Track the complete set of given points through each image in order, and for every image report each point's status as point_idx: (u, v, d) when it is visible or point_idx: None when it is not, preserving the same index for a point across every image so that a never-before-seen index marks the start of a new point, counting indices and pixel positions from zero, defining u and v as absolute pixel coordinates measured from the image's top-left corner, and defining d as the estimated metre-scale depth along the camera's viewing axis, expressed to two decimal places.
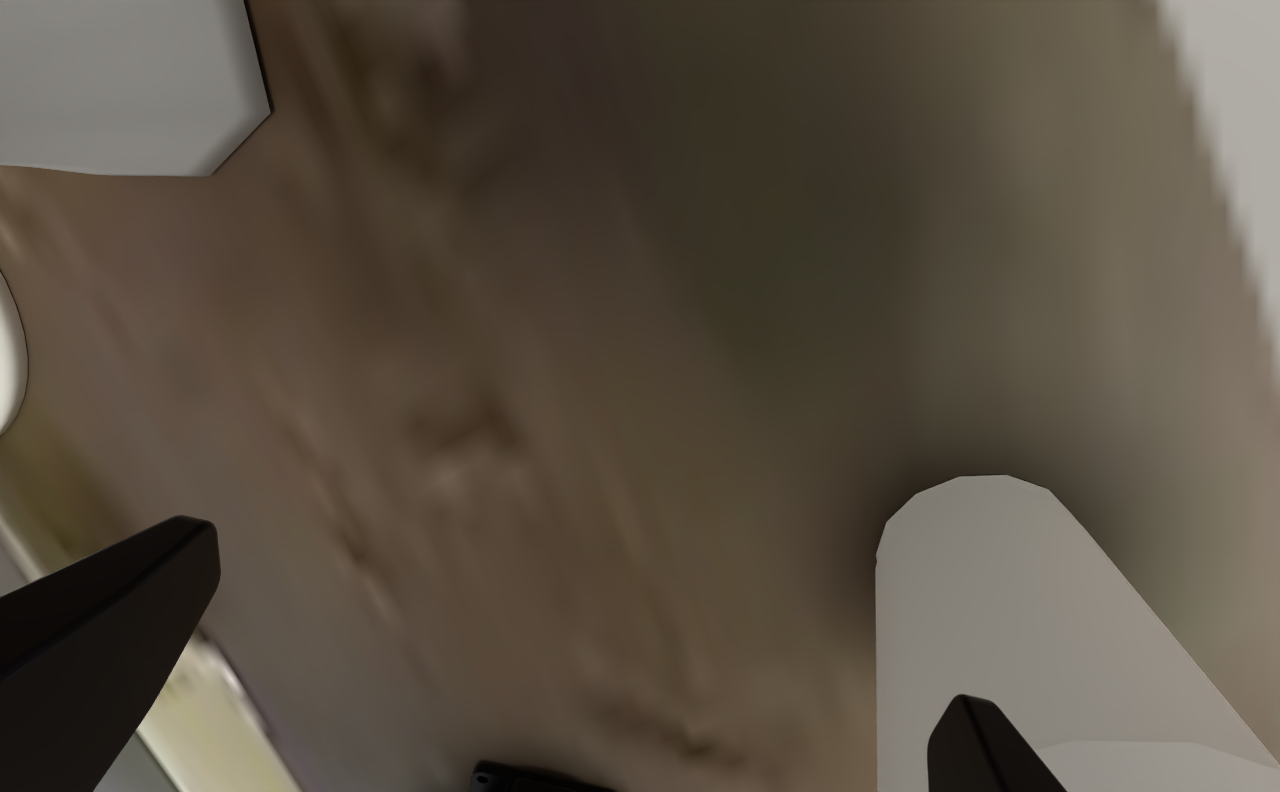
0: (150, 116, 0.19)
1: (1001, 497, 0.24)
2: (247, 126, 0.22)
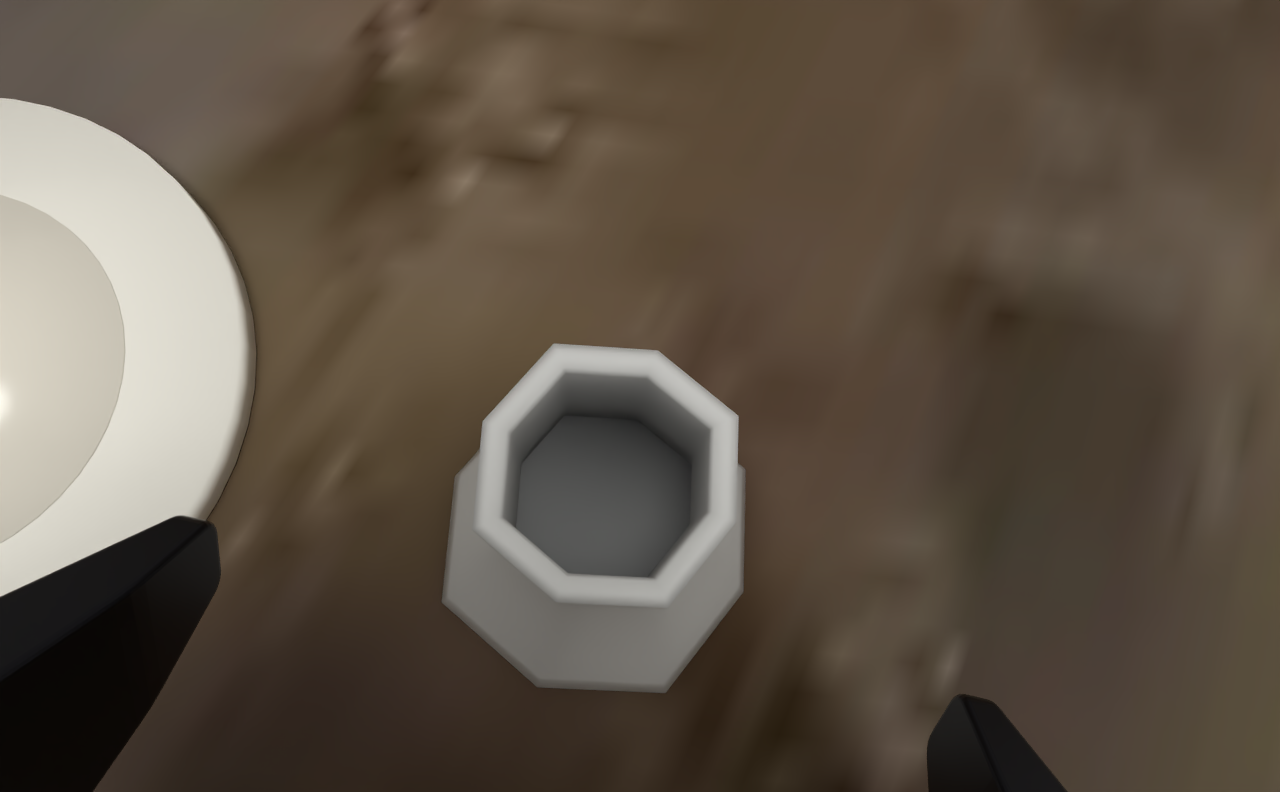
0: (651, 648, 0.15)
1: None
2: (635, 686, 0.18)
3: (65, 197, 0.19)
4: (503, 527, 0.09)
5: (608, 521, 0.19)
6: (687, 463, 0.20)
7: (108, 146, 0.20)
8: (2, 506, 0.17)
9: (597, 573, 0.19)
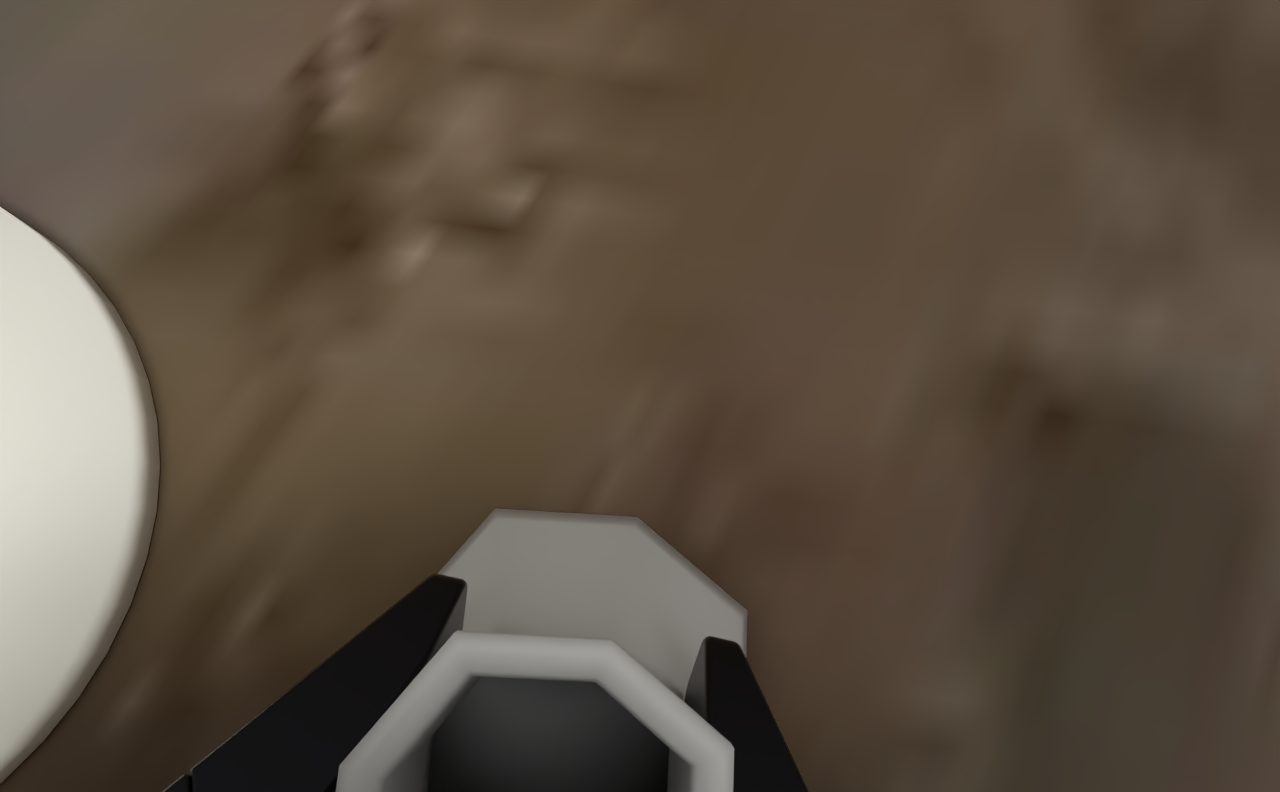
0: None
1: None
2: None
3: None
4: None
5: None
6: None
7: None
8: None
9: (566, 741, 0.15)
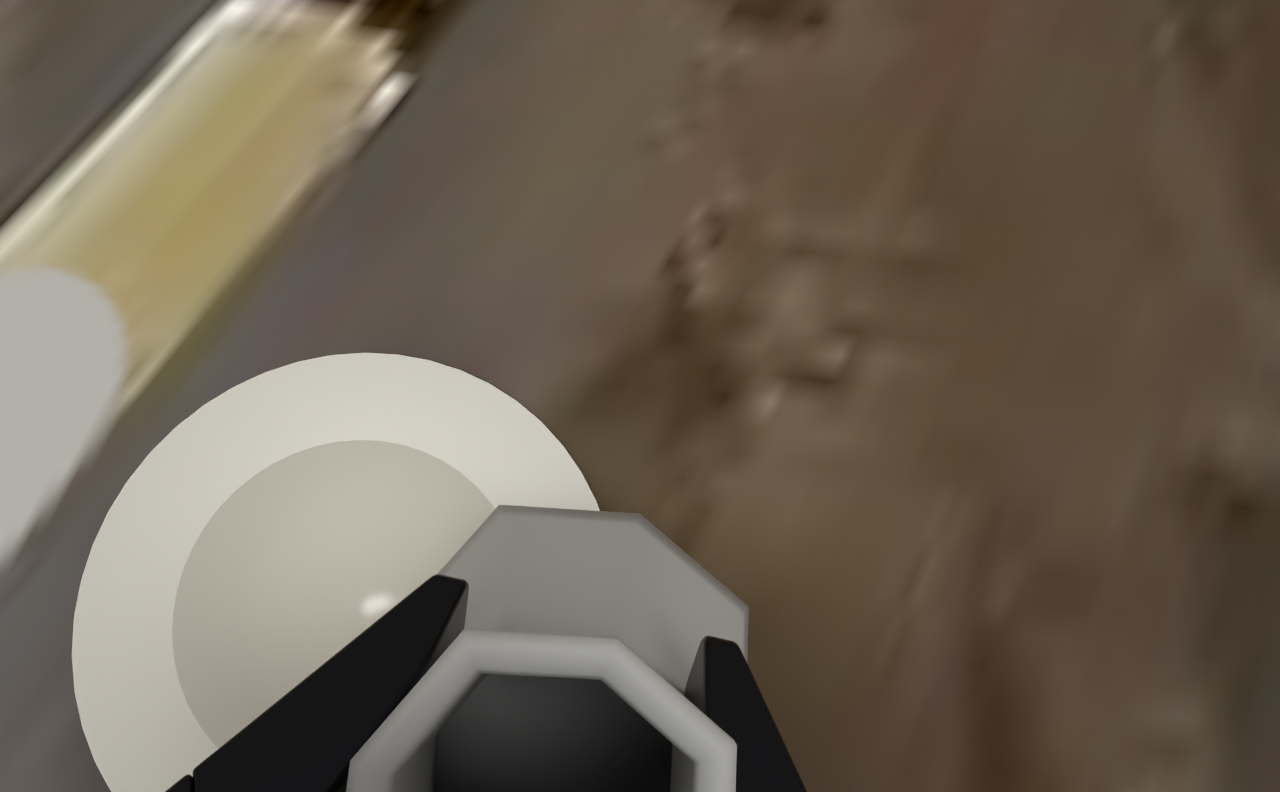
0: None
1: None
2: None
3: (453, 443, 0.22)
4: None
5: None
6: None
7: (482, 394, 0.23)
8: None
9: (569, 735, 0.16)
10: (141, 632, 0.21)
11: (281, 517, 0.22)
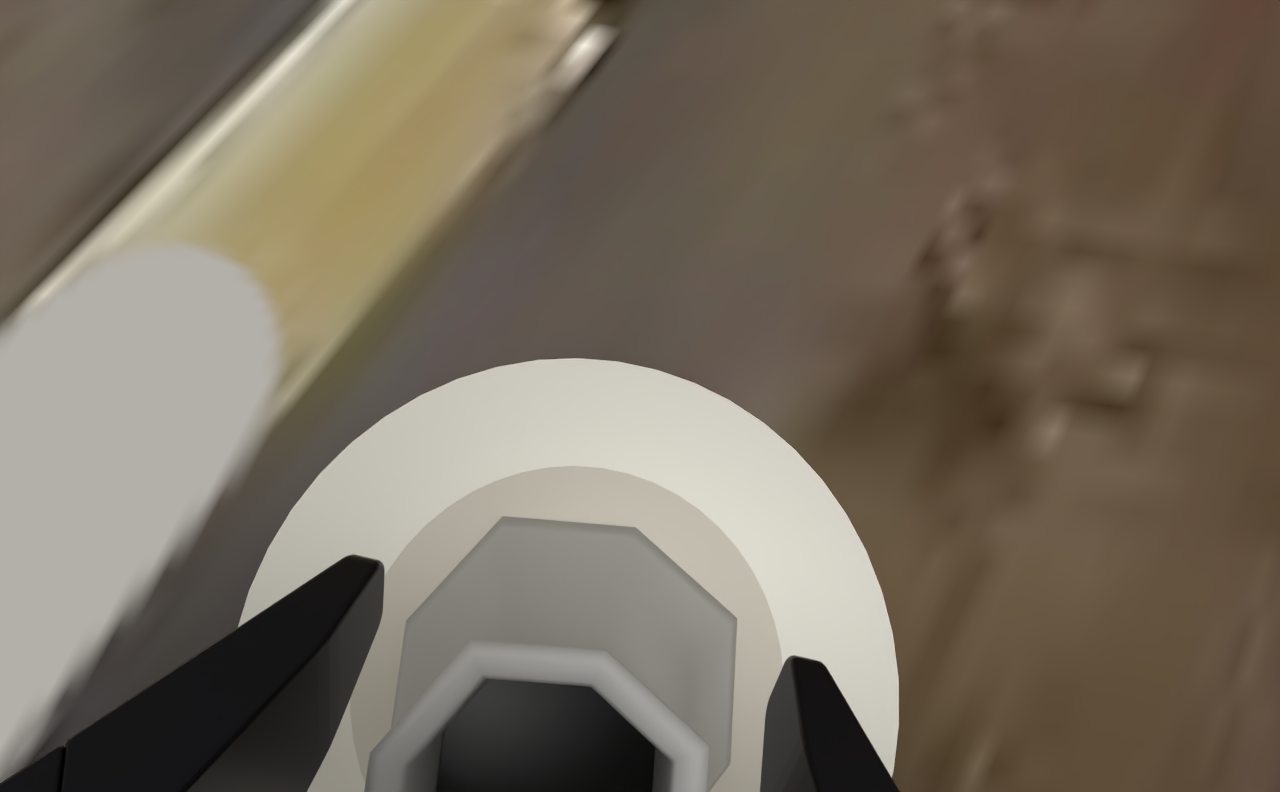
0: None
1: None
2: None
3: (688, 473, 0.18)
4: None
5: None
6: None
7: (722, 414, 0.18)
8: None
9: (564, 737, 0.17)
10: None
11: None
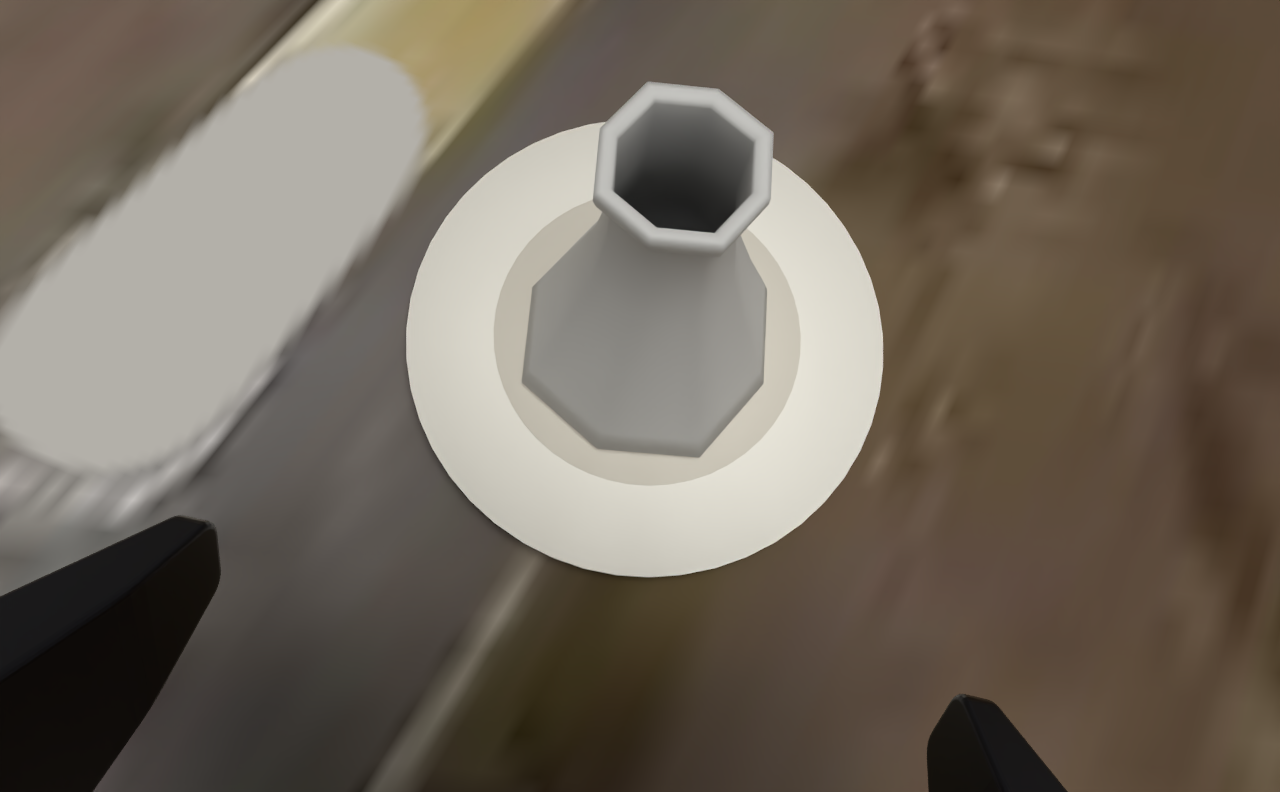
0: (693, 390, 0.20)
1: None
2: (676, 449, 0.22)
3: None
4: (614, 193, 0.14)
5: None
6: None
7: None
8: (735, 430, 0.23)
9: None
10: (466, 343, 0.23)
11: None
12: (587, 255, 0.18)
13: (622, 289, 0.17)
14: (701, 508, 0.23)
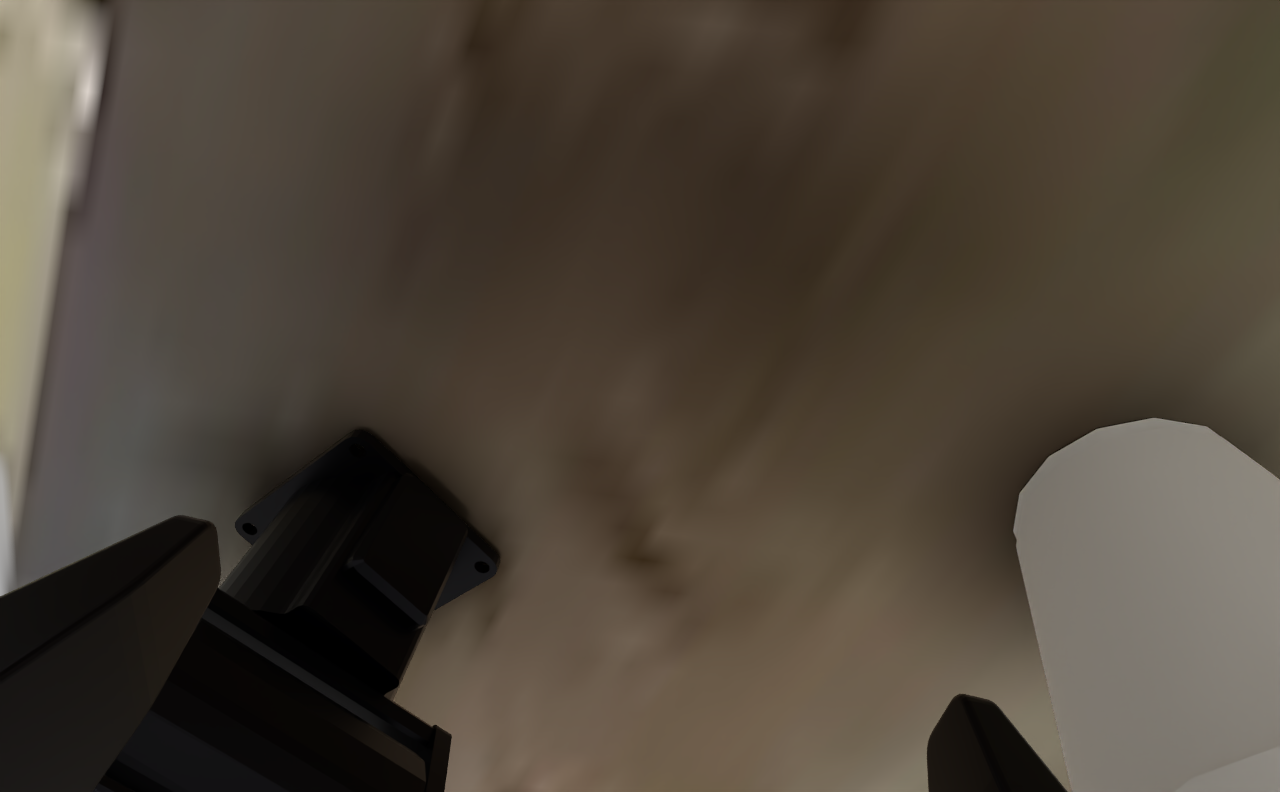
0: None
1: (1263, 467, 0.21)
2: None
3: None
4: None
5: None
6: None
7: None
8: None
9: None
10: None
11: None
12: None
13: None
14: None
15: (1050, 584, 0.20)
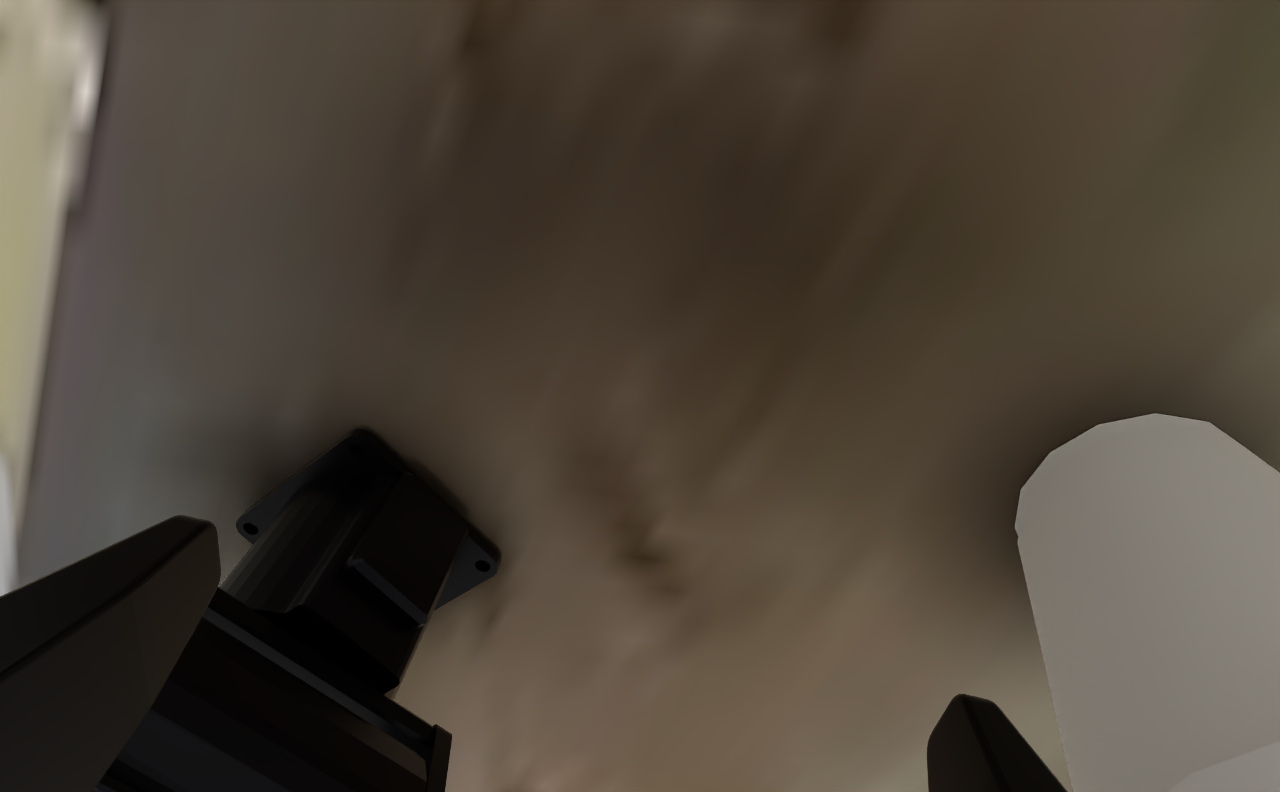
0: None
1: (1266, 463, 0.20)
2: None
3: None
4: None
5: None
6: None
7: None
8: None
9: None
10: None
11: None
12: None
13: None
14: None
15: (1051, 580, 0.20)
